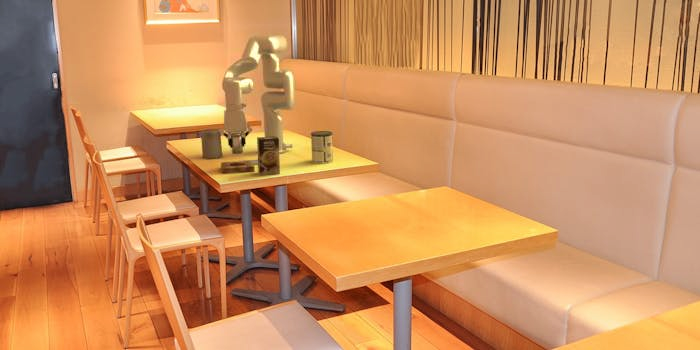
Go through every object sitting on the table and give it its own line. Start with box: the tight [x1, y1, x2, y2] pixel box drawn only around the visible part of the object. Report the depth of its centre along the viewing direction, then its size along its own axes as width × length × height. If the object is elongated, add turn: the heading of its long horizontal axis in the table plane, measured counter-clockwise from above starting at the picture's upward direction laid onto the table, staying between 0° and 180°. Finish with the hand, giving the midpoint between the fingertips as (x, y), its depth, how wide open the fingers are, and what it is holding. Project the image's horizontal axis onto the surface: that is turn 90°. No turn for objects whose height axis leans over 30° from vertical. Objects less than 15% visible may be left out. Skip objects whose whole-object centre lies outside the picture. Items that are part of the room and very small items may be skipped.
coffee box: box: [256, 136, 281, 176], centre depth 282 cm, size 9×6×16 cm
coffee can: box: [310, 130, 334, 164], centre depth 306 cm, size 10×10×14 cm
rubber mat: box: [242, 159, 258, 166], centre depth 306 cm, size 10×10×1 cm
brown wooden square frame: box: [220, 160, 255, 175], centre depth 292 cm, size 14×14×2 cm
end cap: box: [231, 132, 244, 155], centre depth 290 cm, size 6×6×9 cm
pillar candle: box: [200, 127, 223, 160], centre depth 319 cm, size 10×10×15 cm
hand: (237, 146), depth 291 cm, fingers closed on end cap, 5 cm apart
